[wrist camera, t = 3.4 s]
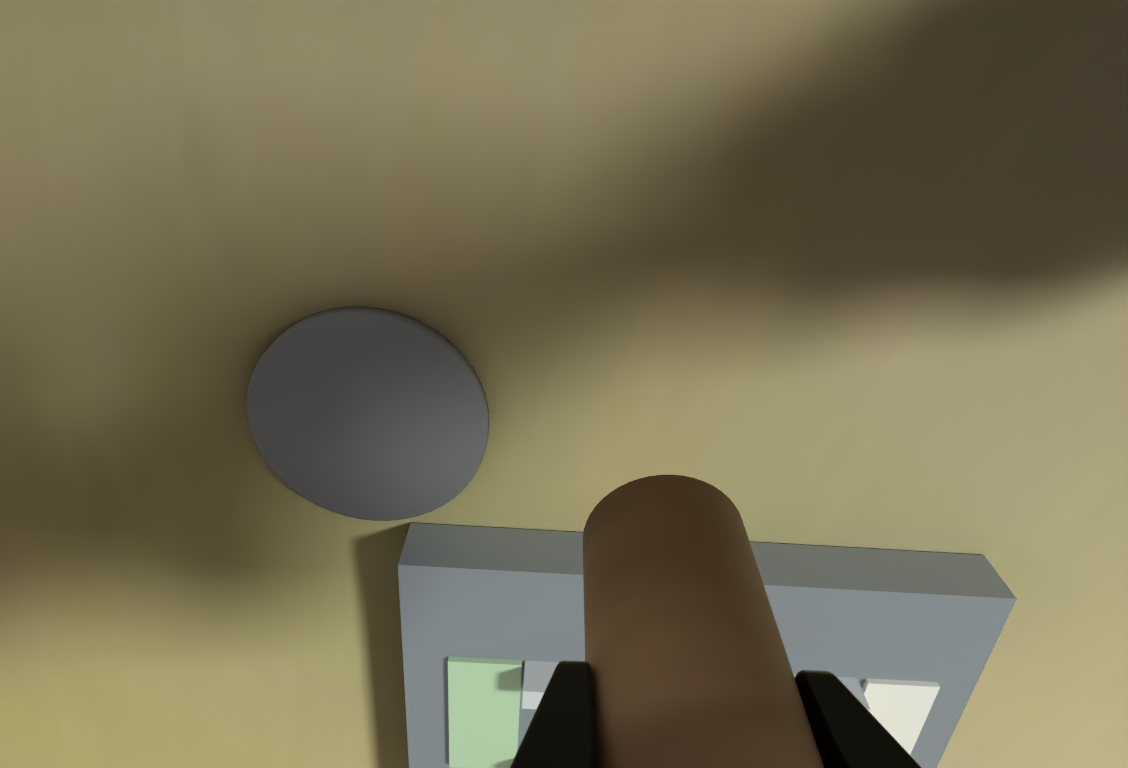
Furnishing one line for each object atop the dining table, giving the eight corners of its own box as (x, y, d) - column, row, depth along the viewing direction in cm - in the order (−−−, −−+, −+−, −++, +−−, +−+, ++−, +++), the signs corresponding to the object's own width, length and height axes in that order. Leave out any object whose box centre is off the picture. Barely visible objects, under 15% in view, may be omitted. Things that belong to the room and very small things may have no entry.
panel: (983, 555, 24) (1038, 628, 21) (879, 796, 30) (911, 879, 27) (410, 522, 24) (388, 593, 21) (421, 774, 30) (405, 856, 27)
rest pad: (491, 314, 20) (488, 322, 20) (487, 515, 23) (485, 526, 23) (238, 298, 20) (229, 306, 20) (269, 502, 23) (262, 514, 23)
